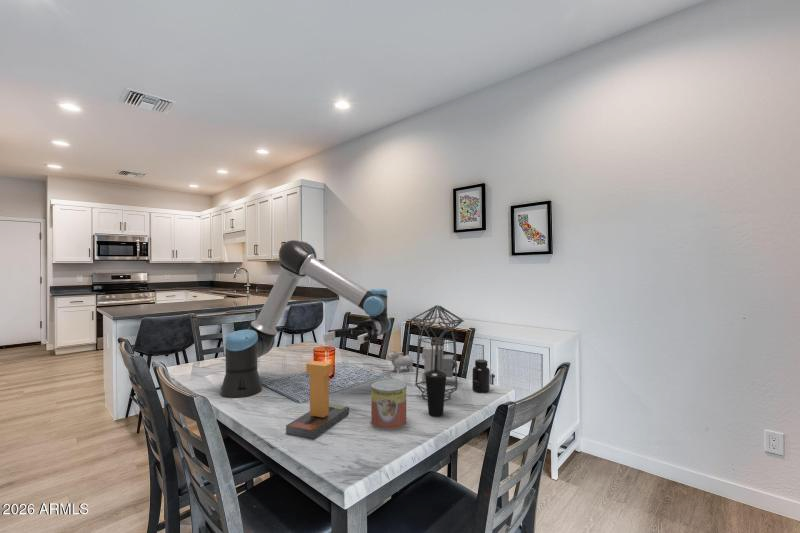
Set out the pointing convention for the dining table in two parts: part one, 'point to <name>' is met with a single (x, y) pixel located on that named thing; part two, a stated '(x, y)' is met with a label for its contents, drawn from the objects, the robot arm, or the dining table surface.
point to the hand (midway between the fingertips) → (341, 339)
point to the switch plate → (316, 422)
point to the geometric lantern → (436, 341)
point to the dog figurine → (400, 360)
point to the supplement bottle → (481, 377)
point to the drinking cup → (435, 390)
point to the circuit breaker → (447, 361)
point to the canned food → (388, 404)
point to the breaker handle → (319, 387)
